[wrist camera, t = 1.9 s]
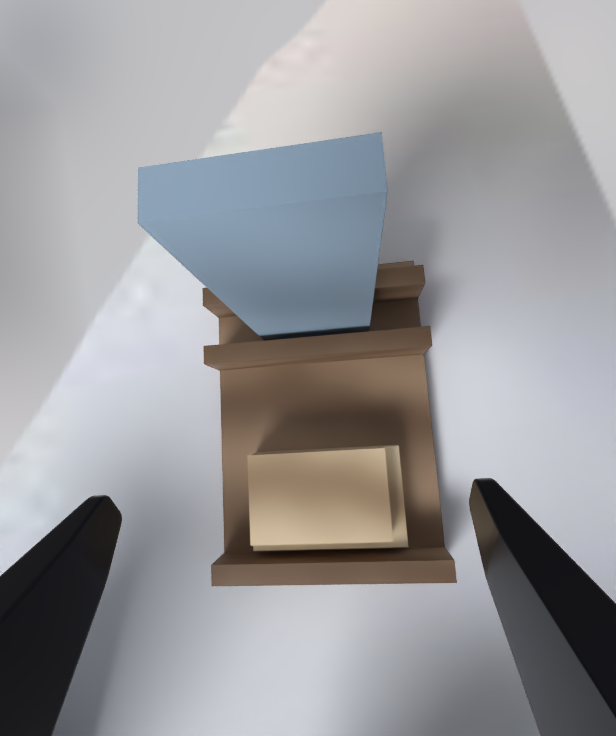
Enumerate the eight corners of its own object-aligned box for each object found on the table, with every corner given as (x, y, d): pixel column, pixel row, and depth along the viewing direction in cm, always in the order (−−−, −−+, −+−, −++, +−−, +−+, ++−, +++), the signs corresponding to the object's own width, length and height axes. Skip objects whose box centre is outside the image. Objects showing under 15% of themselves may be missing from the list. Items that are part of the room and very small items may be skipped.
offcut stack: (405, 540, 21) (411, 555, 18) (259, 543, 21) (246, 558, 19) (396, 444, 21) (401, 447, 19) (255, 452, 22) (243, 455, 20)
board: (368, 335, 22) (387, 191, 9) (267, 343, 23) (137, 223, 9) (366, 310, 23) (381, 132, 9) (266, 319, 23) (138, 167, 10)
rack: (443, 561, 21) (459, 586, 18) (229, 566, 22) (207, 590, 19) (411, 266, 24) (420, 240, 20) (222, 286, 25) (202, 265, 22)
